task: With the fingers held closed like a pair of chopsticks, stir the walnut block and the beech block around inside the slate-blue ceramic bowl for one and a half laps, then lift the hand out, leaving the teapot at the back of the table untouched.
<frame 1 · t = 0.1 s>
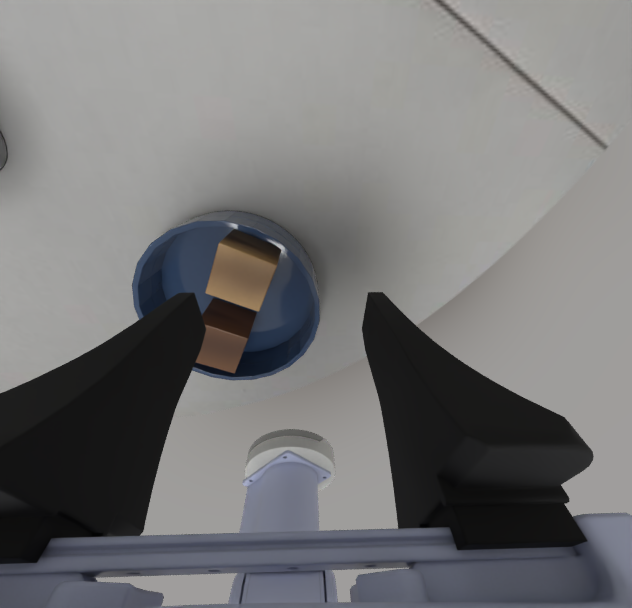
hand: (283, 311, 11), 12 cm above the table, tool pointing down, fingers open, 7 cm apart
beech block: (250, 260, 22), resting on bowl
bowl: (240, 290, 23), on the table
walnut block: (229, 322, 24), resting on bowl
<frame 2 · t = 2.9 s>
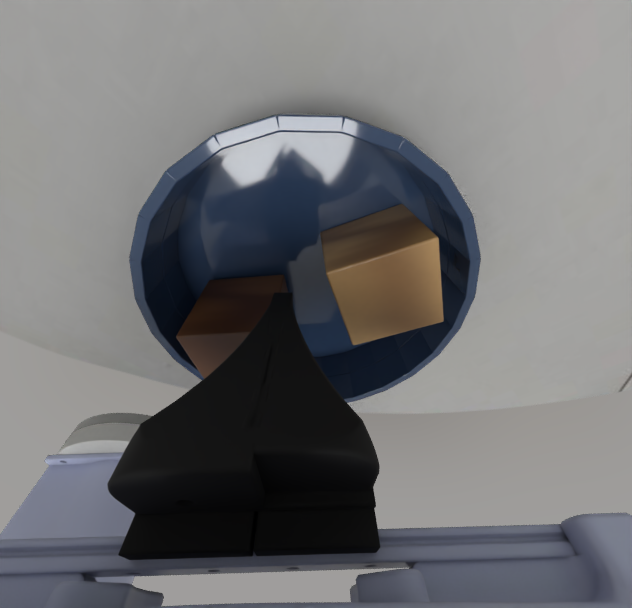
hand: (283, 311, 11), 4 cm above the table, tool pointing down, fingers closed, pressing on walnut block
beech block: (368, 254, 13), resting on bowl
bowl: (308, 269, 14), on the table
walnut block: (256, 306, 15), point 1 cm above the table, tilted 6°, touching bowl, gripper
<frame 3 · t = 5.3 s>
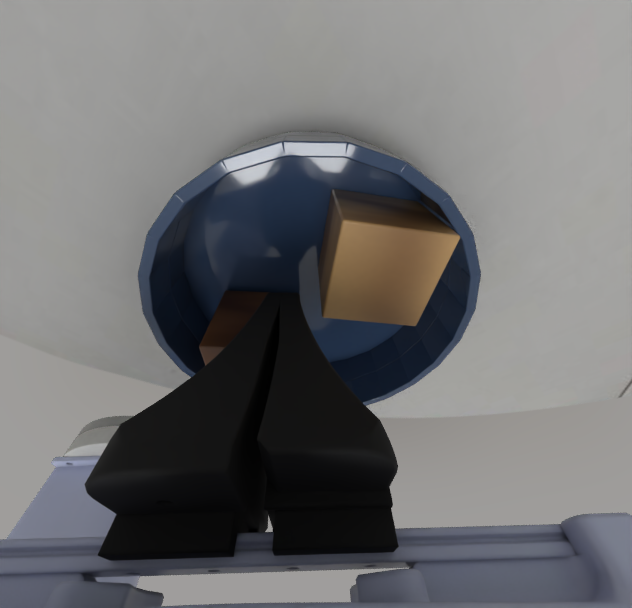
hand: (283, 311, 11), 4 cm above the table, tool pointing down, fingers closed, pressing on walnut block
beech block: (364, 237, 13), point 1 cm above the table, touching bowl
bowl: (311, 279, 15), on the table
walnut block: (265, 318, 15), point 1 cm above the table, touching bowl, gripper
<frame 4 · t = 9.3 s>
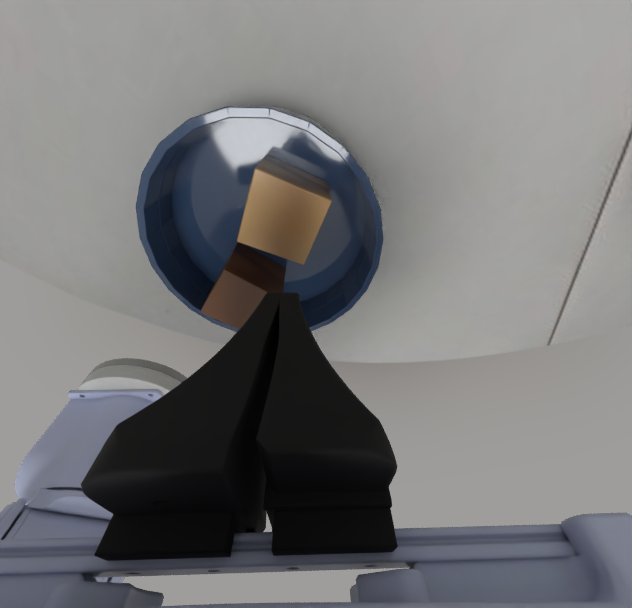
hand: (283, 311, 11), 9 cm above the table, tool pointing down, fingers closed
beech block: (286, 200, 17), point 1 cm above the table, touching bowl
bowl: (272, 227, 19), on the table
walnut block: (250, 274, 20), point 1 cm above the table, touching bowl
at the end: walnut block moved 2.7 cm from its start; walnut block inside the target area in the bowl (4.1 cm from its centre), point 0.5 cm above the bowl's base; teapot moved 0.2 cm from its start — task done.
